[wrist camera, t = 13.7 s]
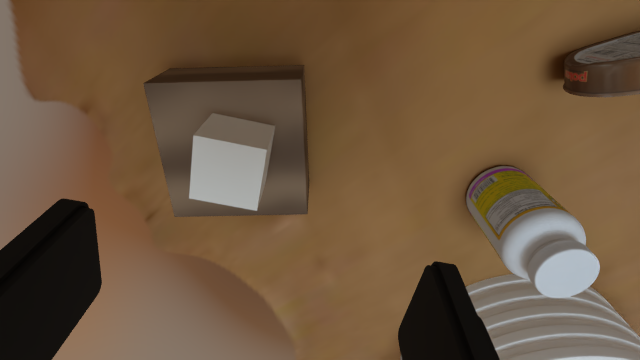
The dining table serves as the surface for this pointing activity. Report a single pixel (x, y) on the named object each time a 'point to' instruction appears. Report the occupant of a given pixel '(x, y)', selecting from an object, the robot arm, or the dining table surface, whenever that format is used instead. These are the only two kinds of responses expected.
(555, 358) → the plate stack
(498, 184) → the supplement bottle
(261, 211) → the walnut block
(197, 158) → the off-white cube
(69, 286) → the robot arm
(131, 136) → the dining table surface
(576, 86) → the tin
